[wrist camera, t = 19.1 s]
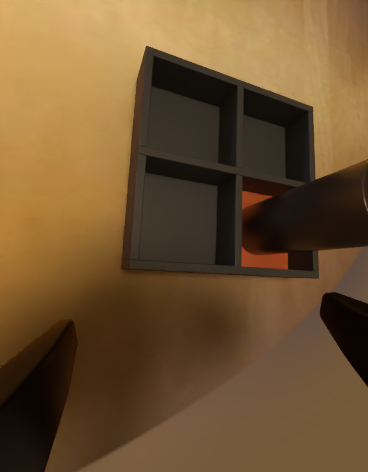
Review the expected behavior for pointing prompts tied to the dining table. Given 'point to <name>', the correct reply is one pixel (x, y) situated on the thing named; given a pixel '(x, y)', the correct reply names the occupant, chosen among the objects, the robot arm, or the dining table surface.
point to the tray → (210, 169)
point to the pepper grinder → (311, 216)
